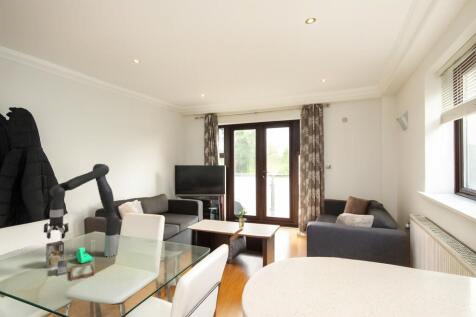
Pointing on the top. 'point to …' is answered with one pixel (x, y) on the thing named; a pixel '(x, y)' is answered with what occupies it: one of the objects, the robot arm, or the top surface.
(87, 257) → the camera mount
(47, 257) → the coffee box
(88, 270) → the walnut stand
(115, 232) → the robot arm
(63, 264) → the housing
